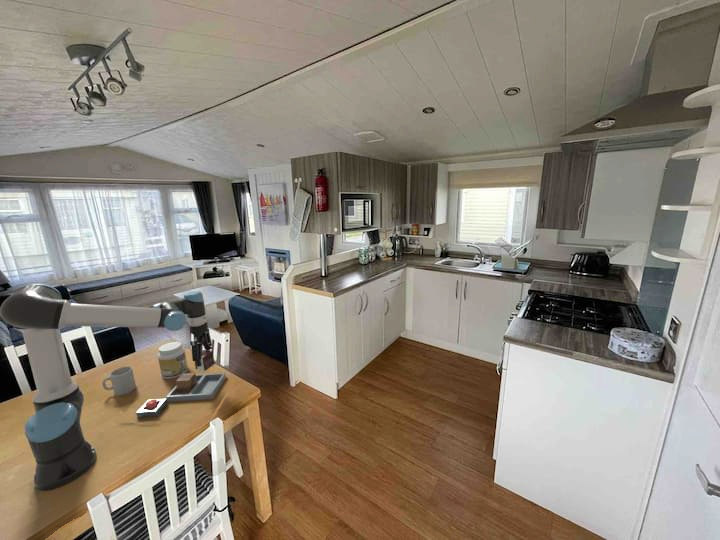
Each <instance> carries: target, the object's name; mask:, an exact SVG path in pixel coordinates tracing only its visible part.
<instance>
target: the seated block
mask: <svg viewBox="0 0 720 540" xmlns="http://www.w3.org/2000/svg"><path fill="white" fill-rule="evenodd" d="M175 382H176V383H175V384H176V385H177V389H178V394H179V393H190V391H191V390H192V389H193V388H194V386H195V385H196V384H197V381H196V373H195V372H188V373H186V372H185V373H184V374H182V375H180V376H178V378H177V379H176V381H175Z"/></svg>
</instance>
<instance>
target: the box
mask: <svg viewBox="0 0 720 540" xmlns="http://www.w3.org/2000/svg"><path fill="white" fill-rule="evenodd" d="M202 358H203V364H204V370H205V371H204V372H206V371H207V370H208V369H210V368H211V367H213V366H214V365H215V357H214V353H213V350H210V351H207V350H206V349H202V354H201V359H202ZM194 366H195V370H198V369H197V363H196V361H194Z"/></svg>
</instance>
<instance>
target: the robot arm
mask: <svg viewBox="0 0 720 540" xmlns="http://www.w3.org/2000/svg"><path fill="white" fill-rule="evenodd" d="M62 297H63V296H62V294H61V293H60V291H59V290H58V289H56V288H55V287H54V286H52V285H49V284H45V283H30V284H26V285H23V286H21V287H19V288H16V290H14V291H13V292H12V293H11V295H9V296H8V297H7V298H5V300H4V301H3V302H2V303H1V305H0V317H1V318H2V320H3V321H4V322H5V323H7V324H9V325H10V326H13V327H12V328H13V329H14V330H16V331H18V332H21V333H22V337H23V340H24V344H25V348H26V353H27V356H28V360H29V364H30V367H31V372H32V376H33V380H34V384H35V387H36V390H37V392H36V393H35V395H33V396H32V402H33V403H32V404H33V407H34V411H35V414H32V415H31V416H30V417H29V418H28V419H27V421H26V422H25V425H24V435H25V438H26V439H27V441H28V443H29V446H30V449H31V451H32V455H33V456H34V460H35V463H36V465H35V466H36V467H35V474H34V476H33V483H34V486H35V488H36V489H37V490H39V491H51V490H55V489H57V488H61V487H62V486H65V485H67V484H69V483H71V482H73V481H74V480H76V479H78V478H79V477H80V476H82V475H83V474H84V473H86V472H87V471H88V470H89V469H90V468H91V467H92V466H93V465H94V463H95V462H96V460H97V452H96V449H95V447H93V446H92V445H91V444H90V443H89V442H88V441H87V440H86V439H85V437H84V433H83V430H82V427H81V418H82V417H81V416H82V409H83V405H84V394H83V392H82V390H81V389H80V387H79V383H78V382H76V381H72V377H71V373H70V368H69V363H68V359H67V356H66V351H65V346H64V342H63V337H62V333H61V329H63V328H65V327H94V328H95V327H99V328H100V327H101V328H102V327H103V328H109V327H110V328H159V329H161V328H163V329H167V330H169V331H171V332H176V331H180V330H181V329H183V328H184V327H185V326H186V324H187V323H188V325H189V326H188V327H189V333H190V334H192V335H193V339H192V340H190V342H189V343H190V346H191V358H192V362H195V361H196V363H197V369H196V370H197V373H198V372H199V373H200V372H206V371H205V370H204V364H203V358H202V359H201V354H202V350H203V348H204V350H207V351H211V350H212V349H213V342H212V338H211V335H210V329H209V326H208V320H207V318H208V317H207V313H206V305H205V300H204V296H203V293H202V292H201V291H199V290H192V291H191V290H190V291H189V292H185V293H184V294H183V297H182V298H178V299H174V300H169V301H163V302H159V303H155V304H153V305H152V307H145V306H144V307H143V306H142V307H141V306H127V305H126V306H123V305H109V304H107V305H106V304H89V303H74V302H70V301H68V300H67V299H63V298H62ZM186 317H187V318H186Z"/></svg>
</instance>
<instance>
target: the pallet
mask: <svg viewBox="0 0 720 540" xmlns="http://www.w3.org/2000/svg"><path fill="white" fill-rule="evenodd" d="M195 375H196V381H197V384H196V385H195V386H194V388H193V389H192V390H191V391H190V393H179V394H178V389H177V384H176V385H175V386H174V387H173V388H172V389H171V391H170V392H169V393H168V394H167V395H166V396H165V399H167V403H168V402H182V401H185V402H186V401H199V400H200V401H201V400H204V401H205V400H213V399H214V398H215V396H216V394H217V393H218V391H219V390H220V388H221V386H222V385H223V383H224V382H225V380H226V379H227V373H226V372H219V373H217V372H216V373H199V374H196V373H195Z"/></svg>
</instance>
